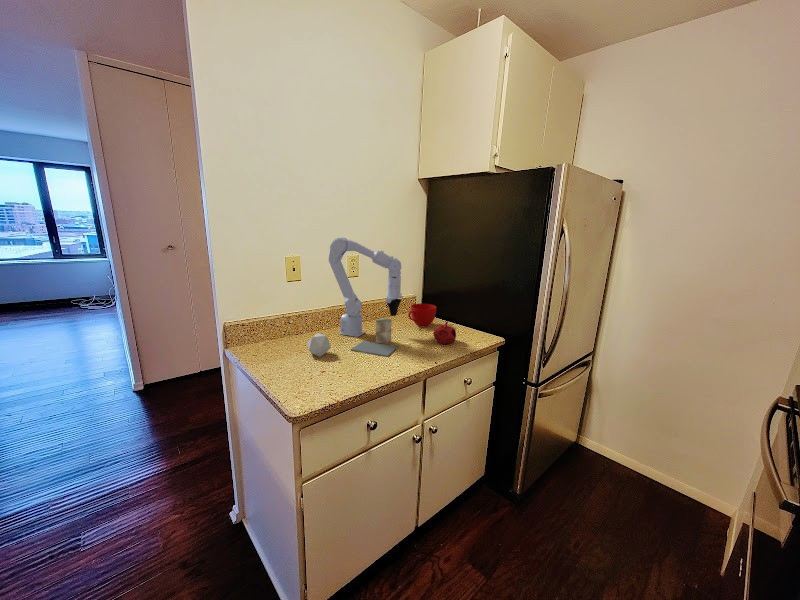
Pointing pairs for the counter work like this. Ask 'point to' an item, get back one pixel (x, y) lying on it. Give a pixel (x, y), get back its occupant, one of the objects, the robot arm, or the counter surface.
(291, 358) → the counter surface
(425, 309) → the ceramic cup
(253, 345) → the counter surface
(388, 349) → the mat
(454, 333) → the pomegranate
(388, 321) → the block
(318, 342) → the die
